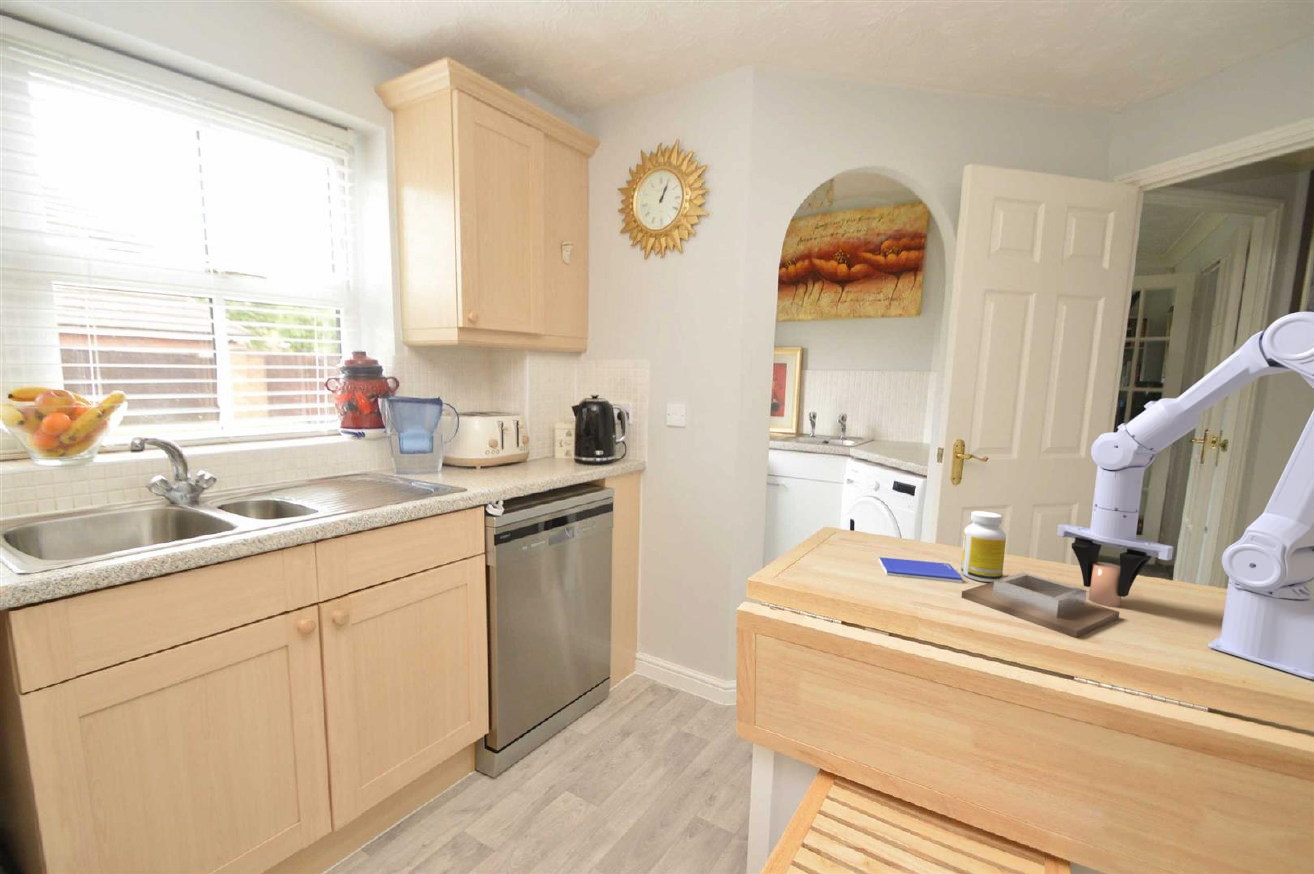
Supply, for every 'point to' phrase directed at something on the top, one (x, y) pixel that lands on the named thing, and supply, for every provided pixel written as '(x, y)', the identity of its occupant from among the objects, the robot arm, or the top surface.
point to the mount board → (1067, 624)
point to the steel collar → (1040, 594)
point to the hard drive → (920, 569)
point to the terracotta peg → (1105, 584)
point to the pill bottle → (983, 547)
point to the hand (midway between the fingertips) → (1105, 590)
